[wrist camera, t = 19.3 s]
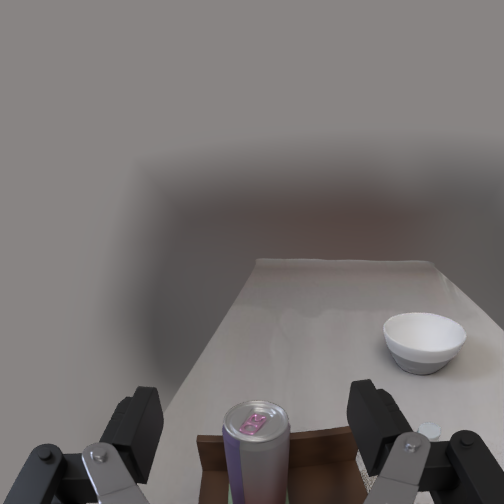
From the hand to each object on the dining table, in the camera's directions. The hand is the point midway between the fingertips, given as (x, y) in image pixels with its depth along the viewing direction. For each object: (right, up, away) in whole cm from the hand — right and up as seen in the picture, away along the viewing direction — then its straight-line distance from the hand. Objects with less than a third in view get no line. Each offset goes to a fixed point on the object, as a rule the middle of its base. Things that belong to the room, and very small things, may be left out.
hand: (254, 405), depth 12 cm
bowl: (+37, -19, +50) cm, 65 cm away
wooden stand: (+4, -26, +18) cm, 32 cm away
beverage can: (+1, -23, +16) cm, 28 cm away
